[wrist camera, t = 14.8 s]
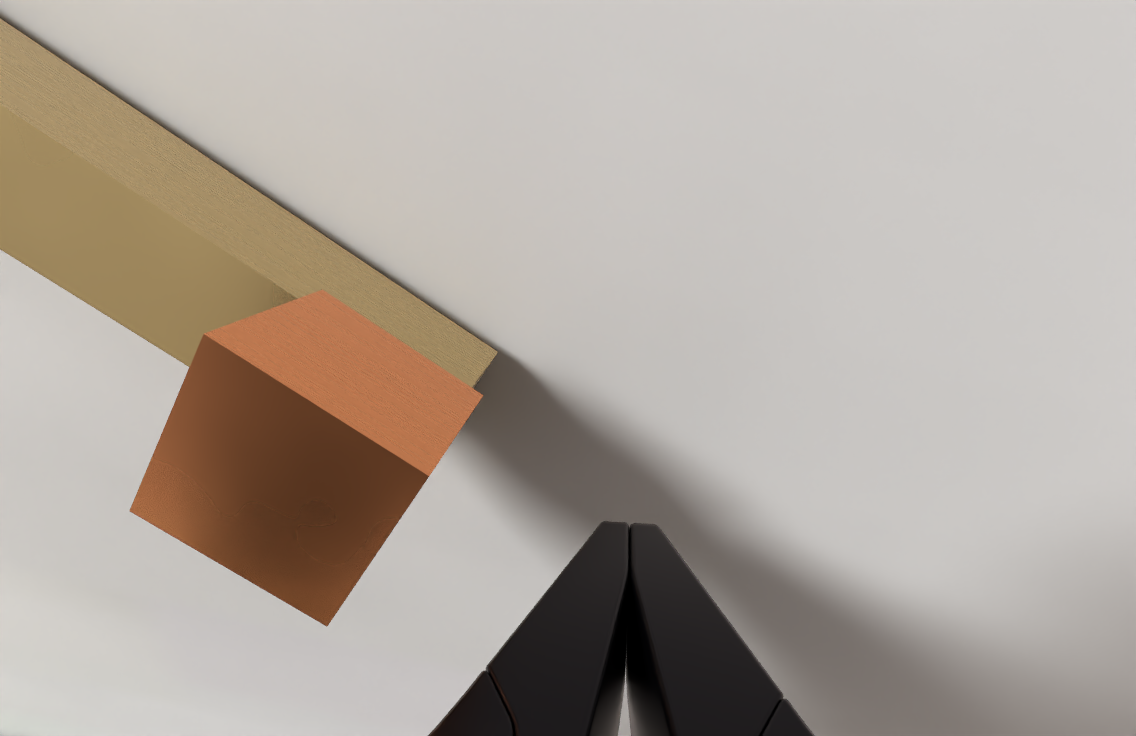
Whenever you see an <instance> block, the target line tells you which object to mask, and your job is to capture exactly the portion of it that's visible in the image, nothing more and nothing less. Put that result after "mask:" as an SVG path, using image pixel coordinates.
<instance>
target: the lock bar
mask: <svg viewBox="0 0 1136 736" xmlns="http://www.w3.org/2000/svg"><path fill="white" fill-rule="evenodd" d="M0 249H1V250H2V251H4V252H5V253H7V254H9V255H10V256H12V257H14V258H15V259H17V260H18V261H20V262H22V263H23V264H25V265H26V266H28V267H30V268H31V269H33V270H34V271H36V272H38V273H39V274H41V275H42V276H44V277H46V278H47V279H49V280H50V281H52V282H54V283H55V284H57V285H58V286H60V287H62V288H63V289H65V290H67V291H68V292H70V293H71V294H73V295H75V296H76V297H78V298H79V299H81V300H83V301H84V302H86V303H87V304H89V305H91V306H92V307H94V308H95V309H97V310H99V311H100V312H102V313H103V314H105V315H107V316H108V317H110V318H112V319H113V320H115V321H116V322H118V323H120V324H121V325H123V326H124V327H126V328H128V329H129V330H131V331H132V332H134V333H136V334H137V335H139V336H140V337H142V338H144V339H145V340H147V341H148V342H150V343H152V344H153V345H155V346H156V347H158V348H160V349H161V350H163V351H165V352H166V353H168V354H169V355H171V356H173V357H174V358H176V359H177V360H179V361H181V362H182V363H184V364H185V365H187V366H189V370H188V372H187V375H186V377H185V379H184V382H183V384H182V387H181V389H180V391H179V394H178V396H177V398H176V401H175V403H174V406H173V408H172V410H171V413H170V415H169V418H168V420H167V422H166V425H165V427H164V430H163V432H162V434H161V437H160V439H159V442H158V444H157V446H156V449H155V451H154V454H153V456H152V458H151V461H150V463H149V466H148V468H147V470H146V473H145V475H144V477H143V480H142V482H141V485H140V487H139V489H138V492H137V494H136V497H135V499H134V501H133V504H132V506H131V509H130V512H132V513H134V514H135V515H137V516H139V517H141V518H142V519H144V520H146V521H147V522H149V523H151V524H153V525H154V526H156V527H158V528H159V529H161V530H163V531H164V532H166V533H168V534H170V535H171V536H173V537H175V538H176V539H178V540H180V541H182V542H183V543H185V544H187V545H188V546H190V547H192V548H194V549H195V550H197V551H199V552H200V553H202V554H204V555H206V556H207V557H209V558H211V559H212V560H214V561H216V562H218V563H219V564H221V565H223V566H224V567H226V568H228V569H230V570H231V571H233V572H235V573H236V574H238V575H240V576H242V577H243V578H245V579H247V580H248V581H250V582H252V583H253V584H255V585H257V586H259V587H260V588H262V589H264V590H265V591H267V592H269V593H271V594H272V595H274V596H276V597H277V598H279V599H281V600H283V601H284V602H286V603H288V604H289V605H291V606H293V607H295V608H296V609H298V610H300V611H301V612H303V613H305V614H307V615H308V616H310V617H312V618H313V619H315V620H317V621H319V622H320V623H322V624H324V625H325V626H328V625H329V623H330V622H331V620H332V619H333V617H334V616H335V614H336V613H337V611H338V610H339V608H340V607H341V605H342V604H343V602H344V601H345V599H346V598H347V597H348V595H349V594H350V592H351V591H352V589H353V588H354V586H355V585H356V583H357V582H358V580H359V579H360V577H361V576H362V574H363V573H364V571H365V570H366V569H367V567H368V566H369V564H370V563H371V561H372V560H373V558H374V557H375V555H376V554H377V552H378V551H379V549H380V548H381V546H382V545H383V543H384V542H385V541H386V539H387V538H388V536H389V535H390V533H391V532H392V530H393V529H394V527H395V526H396V524H397V523H398V521H399V520H400V518H401V517H402V515H403V514H404V512H405V511H406V510H407V508H408V507H409V505H410V504H411V502H412V501H413V499H414V498H415V496H416V495H417V493H418V492H419V490H420V489H421V487H422V486H423V484H424V483H425V482H426V480H427V479H428V477H429V476H430V474H431V473H432V471H433V470H434V468H435V467H436V465H437V464H438V462H439V461H440V459H441V458H442V456H443V455H444V453H445V452H446V450H447V449H448V447H449V446H450V444H451V443H452V441H453V440H454V438H455V437H456V435H457V434H458V432H459V431H460V430H461V428H462V427H463V425H464V424H465V422H466V421H467V419H468V418H469V416H470V415H471V413H472V412H473V410H474V409H475V407H476V406H477V404H478V403H479V401H480V400H481V398H482V397H483V395H482V394H481V393H479V392H478V391H476V390H475V389H474V388H475V386H476V385H477V383H478V382H479V380H480V379H481V377H482V376H483V374H484V373H485V371H486V370H487V368H488V367H489V365H490V364H491V362H492V361H493V359H494V358H495V356H496V355H497V353H498V352H497V351H496V350H494V349H493V348H491V347H490V346H488V345H487V344H485V343H484V342H482V341H481V340H479V339H478V338H476V337H475V336H473V335H472V334H470V333H469V332H467V331H466V330H464V329H463V328H461V327H460V326H459V325H457V324H456V323H454V322H453V321H451V320H450V319H448V318H447V317H445V316H444V315H442V314H441V313H439V312H438V311H436V310H435V309H433V308H432V307H430V306H429V305H427V304H426V303H424V302H423V301H421V300H420V299H418V298H417V297H415V296H414V295H412V294H411V293H409V292H408V291H406V290H405V289H403V288H402V287H400V286H399V285H397V284H396V283H394V282H393V281H391V280H390V279H388V278H387V277H385V276H384V275H382V274H381V273H379V272H378V271H376V270H375V269H373V268H372V267H370V266H369V265H367V264H366V263H364V262H363V261H361V260H360V259H358V258H357V257H355V256H354V255H353V254H351V253H350V252H348V251H347V250H345V249H344V248H342V247H341V246H339V245H338V244H336V243H335V242H333V241H332V240H330V239H329V238H327V237H326V236H324V235H323V234H321V233H320V232H318V231H317V230H315V229H314V228H312V227H311V226H309V225H308V224H306V223H305V222H303V221H302V220H300V219H299V218H297V217H296V216H294V215H293V214H291V213H290V212H288V211H287V210H285V209H284V208H282V207H281V206H279V205H278V204H276V203H275V202H273V201H272V200H270V199H269V198H267V197H266V196H264V195H263V194H261V193H260V192H258V191H257V190H255V189H254V188H252V187H251V186H250V185H248V184H247V183H245V182H244V181H242V180H241V179H239V178H238V177H236V176H235V175H233V174H232V173H230V172H229V171H227V170H226V169H224V168H223V167H221V166H220V165H218V164H217V163H215V162H214V161H212V160H211V159H209V158H208V157H206V156H205V155H203V154H202V153H200V152H199V151H197V150H196V149H194V148H193V147H191V146H190V145H188V144H187V143H185V142H184V141H182V140H181V139H179V138H178V137H176V136H175V135H173V134H172V133H170V132H169V131H167V130H166V129H164V128H163V127H161V126H160V125H158V124H157V123H155V122H154V121H152V120H151V119H149V118H148V117H147V116H145V115H144V114H142V113H141V112H139V111H138V110H136V109H135V108H133V107H132V106H130V105H129V104H127V103H126V102H124V101H123V100H121V99H120V98H118V97H117V96H115V95H114V94H112V93H111V92H109V91H108V90H106V89H105V88H103V87H102V86H100V85H99V84H97V83H96V82H94V81H93V80H91V79H90V78H88V77H87V76H85V75H84V74H82V73H81V72H79V71H78V70H76V69H75V68H73V67H72V66H70V65H69V64H67V63H66V62H64V61H63V60H61V59H60V58H58V57H57V56H55V55H54V54H52V53H51V52H49V51H48V50H46V49H45V48H43V47H42V46H41V45H39V44H38V43H36V42H35V41H33V40H32V39H30V38H29V37H27V36H26V35H24V34H23V33H21V32H20V31H18V30H17V29H15V28H14V27H12V26H11V25H9V24H8V23H6V22H5V21H3V20H2V19H0Z"/></svg>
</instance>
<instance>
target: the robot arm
mask: <svg viewBox="0 0 1136 736" xmlns="http://www.w3.org/2000/svg"><path fill="white" fill-rule="evenodd" d="M625 668H626V684H627V698H628V708H629V718H630V728H631V736H814V734H813V733H812V732H811V731H810V729H809V728H808V727H807V725H806V724H805V723H804V721H803V720H802V719H801V717H800V716H799V715H798V713H797V712H796V711H795V709H794V708H793V706H792V705H791V704H790V702H789V701H788V700H787V699H783V694H782V692H781V691H780V689H779V688H778V687H777V685H776V684H775V683H774V681H773V680H772V679H771V677H770V676H769V674H768V673H767V672H766V670H765V669H764V668H763V666H762V665H761V664H760V662H759V661H758V660H757V658H756V657H755V656H754V654H753V653H752V652H751V650H750V649H749V648H748V646H747V645H746V644H745V642H744V641H743V639H742V638H741V637H740V635H739V634H738V633H737V631H736V630H735V629H734V627H733V626H732V625H731V623H730V622H729V621H728V619H727V618H726V617H725V615H724V614H723V613H722V611H721V610H720V608H719V607H718V606H717V604H716V603H715V602H714V600H713V599H712V598H711V596H710V595H709V594H708V592H707V591H706V590H705V588H704V587H703V586H702V584H701V583H700V582H699V580H698V579H697V578H696V576H695V575H694V573H693V572H692V571H691V569H690V568H689V567H688V565H687V564H686V563H685V561H684V560H683V559H682V557H681V556H680V555H679V553H678V552H677V551H676V549H675V548H674V547H673V545H672V544H671V543H670V541H669V540H668V538H667V537H666V536H665V534H664V533H663V532H662V530H661V529H660V528H659V527H658V526H657V525H655V524H641V523H633V524H631V526H630V531H629V525H628V524H627V523H624V522H609V521H604V522H602V523H601V524H600V525H599V526H598V527H597V529H596V530H595V531H594V532H593V534H592V535H591V536H590V537H589V539H588V540H587V541H586V542H585V544H584V545H583V546H582V547H581V549H580V550H579V551H578V552H577V554H576V555H575V556H574V557H573V559H572V560H571V561H570V562H569V564H568V565H567V566H566V567H565V569H564V570H563V571H562V572H561V574H560V575H559V576H558V577H557V579H556V580H555V581H554V583H553V584H552V585H551V586H550V588H549V589H548V590H547V591H546V593H545V594H544V595H543V596H542V598H541V599H540V600H539V601H538V603H537V604H536V605H535V606H534V608H533V609H532V610H531V611H530V613H529V614H528V615H527V616H526V618H525V619H524V620H523V621H522V623H521V624H520V625H519V626H518V628H517V629H516V630H515V631H514V633H513V634H512V635H511V636H510V638H509V639H508V640H507V641H506V643H505V644H504V645H503V646H502V648H501V649H500V650H499V651H498V653H497V654H496V655H495V656H494V658H493V659H492V660H491V661H490V663H489V664H488V665H487V667H486V671H482V672H481V673H480V675H479V676H478V677H477V678H476V680H475V681H474V682H473V683H472V685H471V686H470V687H469V689H468V690H467V691H466V692H465V694H464V695H463V696H462V697H461V698H460V699H459V701H458V702H457V703H456V704H455V705H454V707H453V708H452V709H451V710H450V711H449V712H448V714H447V715H446V716H445V717H444V718H443V719H442V721H441V722H440V723H439V724H438V725H437V726H436V728H435V729H434V730H433V731H432V732H431V733H430V734H429V735H428V736H618V730H619V723H620V716H621V709H622V701H623V693H624V684H625Z"/></svg>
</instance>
